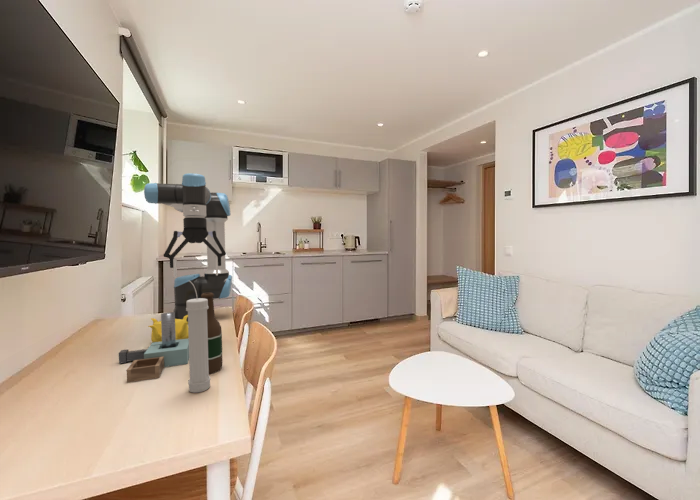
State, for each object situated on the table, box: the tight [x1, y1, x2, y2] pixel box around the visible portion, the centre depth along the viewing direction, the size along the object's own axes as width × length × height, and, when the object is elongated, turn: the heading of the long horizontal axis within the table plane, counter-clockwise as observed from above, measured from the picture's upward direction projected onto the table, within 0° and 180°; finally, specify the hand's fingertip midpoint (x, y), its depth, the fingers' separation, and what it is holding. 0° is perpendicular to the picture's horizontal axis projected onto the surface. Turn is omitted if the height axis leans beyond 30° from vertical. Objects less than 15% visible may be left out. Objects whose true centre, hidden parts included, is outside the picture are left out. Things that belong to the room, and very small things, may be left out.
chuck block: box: [144, 338, 189, 368], centre depth 106 cm, size 12×12×5 cm
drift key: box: [118, 348, 148, 364], centre depth 106 cm, size 3×10×4 cm, turn 111°
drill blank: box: [160, 311, 176, 349], centre depth 106 cm, size 4×4×16 cm
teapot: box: [147, 315, 189, 343], centre depth 126 cm, size 15×14×10 cm
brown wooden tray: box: [126, 356, 165, 383], centre depth 95 cm, size 8×8×4 cm
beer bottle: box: [201, 292, 223, 375], centre depth 98 cm, size 8×8×24 cm
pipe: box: [186, 281, 211, 393], centre depth 85 cm, size 6×6×30 cm
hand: (196, 276), depth 114 cm, fingers open, 13 cm apart
